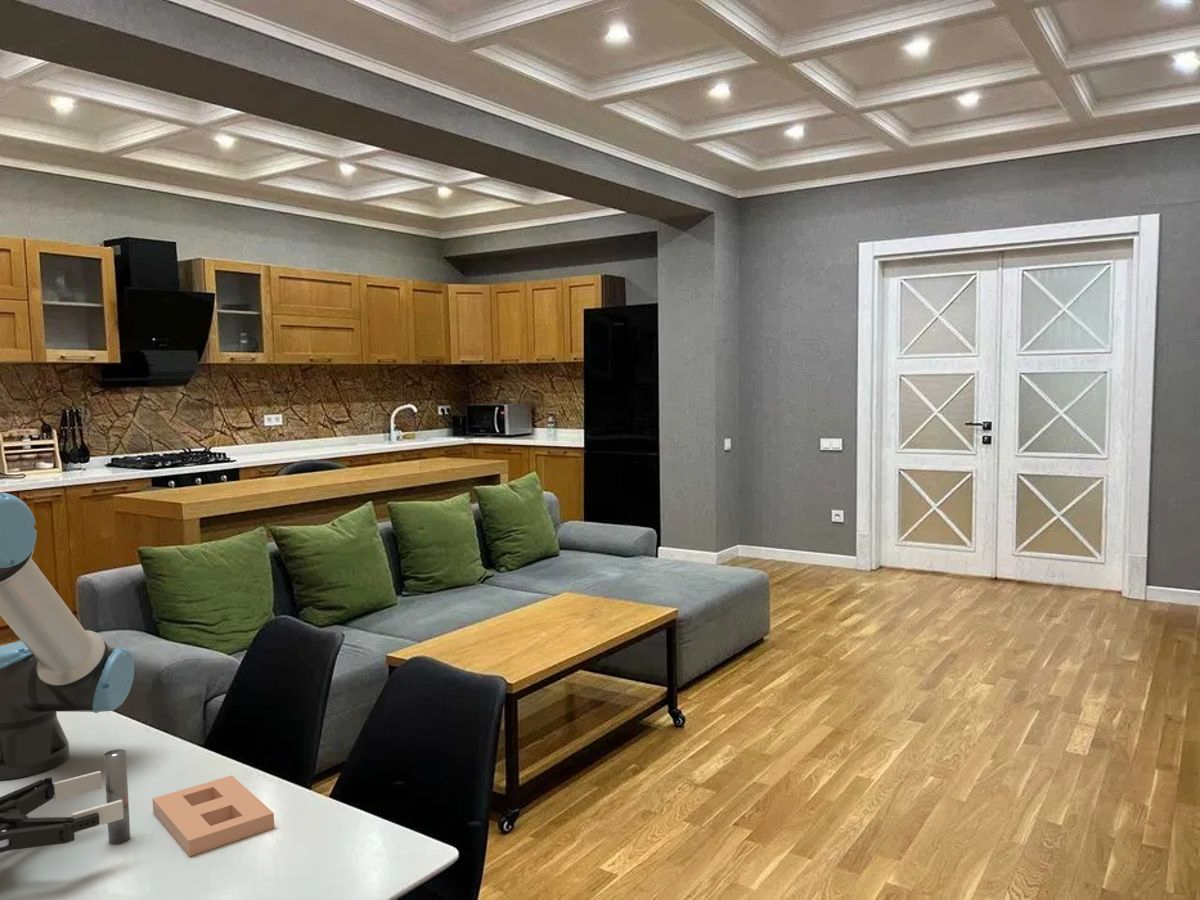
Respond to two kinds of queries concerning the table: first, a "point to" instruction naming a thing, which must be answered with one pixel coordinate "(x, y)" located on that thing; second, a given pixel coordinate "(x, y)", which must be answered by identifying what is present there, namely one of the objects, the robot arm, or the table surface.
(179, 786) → the table surface
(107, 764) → the steel dowel
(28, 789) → the robot arm
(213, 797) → the terracotta block
